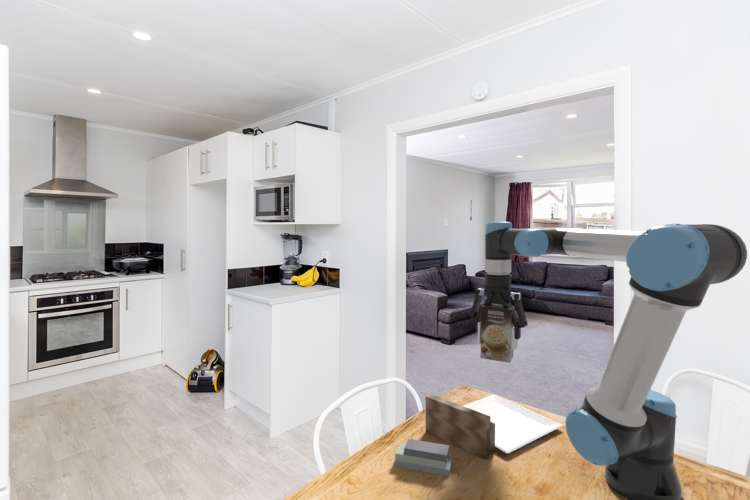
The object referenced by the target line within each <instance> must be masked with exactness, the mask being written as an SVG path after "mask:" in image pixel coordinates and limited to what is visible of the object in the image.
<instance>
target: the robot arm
mask: <svg viewBox="0 0 750 500" xmlns="http://www.w3.org/2000/svg"><path fill="white" fill-rule="evenodd" d="M484 237H485V239H484V240H485V241H484V243H485V244H484V245H485V247H484V250H485V253H484V254H485V257H484V258H485V259H484V261H485V264H484V272H486V273H485V274H484V285H485V287H484V288H482V287H479V288H476V289H475V292H474V294H475V297H474V300H473V304H472V307H471V310H470V314H469V319H472V320H474V321H475V322H474V323H475V325H474V326H475V332H477V344H481V308H480V306H481V304H482V300H483V296H484V295H485V296H486V298H485V300H484V302H483V305H490V304H499V305H502V306H503V308H507V309H509V308H512V306H514V307H515V309H513V312H512V324H513V326H514V327H513V328H511V350H513V352H514V351H516V350H518V347H519V345H518V340H520V339H521V334H522V333H521V332H522V331H521V329H522V328H525V327H528V321H527V316H526V313H525V309H524V306H523V302H522V292H513V291H512V289H511V287H512V275H511V274H510V273H512V256H513V255H514V256H521V257H526V258H537V257H541V256H546V255H548V256H549V255H558V256H559V255H562V256H573V257H582V258H589V259H599V260H606V261H613V262H614V261H617V262H622V263H626V267H628V269H629V270H628V274H629V275H630V279H629V282H628V285H629V286H630V287H629V288H631V290H632V291H633V293H634V294H633V296H632V298H631V301H630V304H629V306H628V310H627V312H626V314H625V317H624V319H623V322H622V324H621V327H620V330H619V332H618V334H617V337H616V340H615V342H614V344H613V347H612V349H611V353H610V355H609V358H608V360H607V363H606V365H605V367H604V370H603V373H602V375H601V378H600V379H599V380H600V381H599V383H598V385H597V386H593V387H590V388H588V389H587V392H586V393H585V395H584V399H583V402H582V405H581V406H580V407H579V408H578V407H577V408H573V409H572V410H570V412H568V414H567V415H566V416H565V421H564V422H565V423H564V425H565V431H566V435H567V437H568V438H569V442H570V443H571V446H572V447H573V448H574V450H575V451H576V452H577V453H578V454H579V455H580V456H581V457H582V458H583V459H584V460H585V461H587V462H589V463H591V464H592V465H595V466H598V467H599V466H601V467H604V466H605V467H604V468H605V469H604V470H605V472H604V478H605V480H606V482H607V483H608V484H609V485H610V487H611V488H612V489H614V490H615V491H617V493H619V494H620V495H622V496H623V497H625V498H628V499H630V500H682V495H683V494H682V493H683V489H682V485H681V481H680V479H679V475H678V473H677V469H676V467H675V463H674V455H675V439H676V426H677V424H676V423H677V418H678V416H677V408H676V404H675V402H674V401H673V399H672V398H670V397H669V396H667V395H665V394H663V393H660V392H658V391H655V390H652V388H653V384H654V383H655V380H656V379H657V376H658V374H659V372H660V370H661V367H662V365H663V363H664V360H665V358H666V356H667V354H668V352H669V350H670V348H671V345H672V343H673V341H674V340H675V339H674V338H675V337H676V335H677V332H678V329H679V327H680V325H681V324H682V321H683V319H684V317H685V314H686V312H687V311H690V310H693V309H696V308H699V307H700V306H701V305H702V302H703V300H704V298H705V297H706V294H707V292H708V290H709V288H710V286H711V285H716V284H720V283H723V282H727V281H729V280H730V279H732V278H734V277H736V276H737V275H738V274H739V273H740V272H741V271H742V270H743V268H744V267H745V265H746V262H747V260H748V250H747V246H746V244H745V242H744V240H743V238H742V237H741V236H740V235H739V234H737V232H735V231H733V230H732V229H729V228H728V227H726V226H722V225H719V224H711V223H710V224H708V223H707V224H705V223H703V224H681V223H669V224H663V225H659V226H653V227H651V228H649V229H646V230H644V231H643V230H617V229H614V230H611V229H589V228H586V229H585V228H584V229H583V228H571V227H570V228H569V227H557V228H556V227H555V228H552V227H551V228H529V227H528V228H513V223H512V222H510V221H490V222H488V223H486V225H485V234H484ZM510 298H512V300H513V305H512V302H511V300H510ZM483 305H482V306H483ZM515 311H516V312H515Z"/></svg>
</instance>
